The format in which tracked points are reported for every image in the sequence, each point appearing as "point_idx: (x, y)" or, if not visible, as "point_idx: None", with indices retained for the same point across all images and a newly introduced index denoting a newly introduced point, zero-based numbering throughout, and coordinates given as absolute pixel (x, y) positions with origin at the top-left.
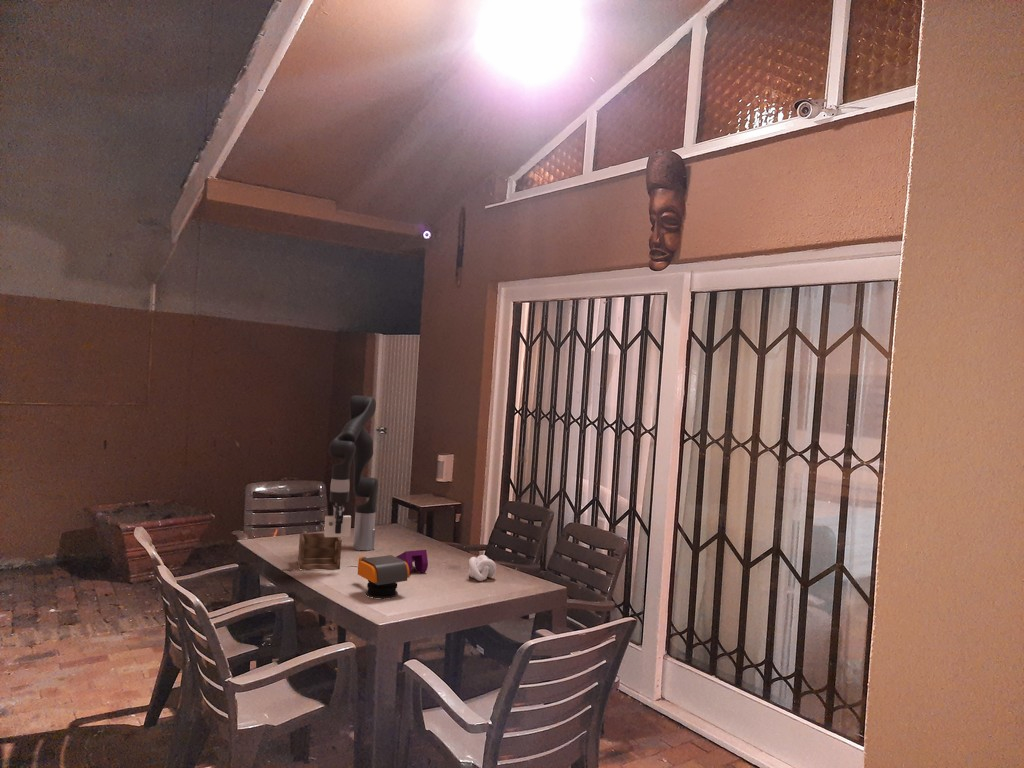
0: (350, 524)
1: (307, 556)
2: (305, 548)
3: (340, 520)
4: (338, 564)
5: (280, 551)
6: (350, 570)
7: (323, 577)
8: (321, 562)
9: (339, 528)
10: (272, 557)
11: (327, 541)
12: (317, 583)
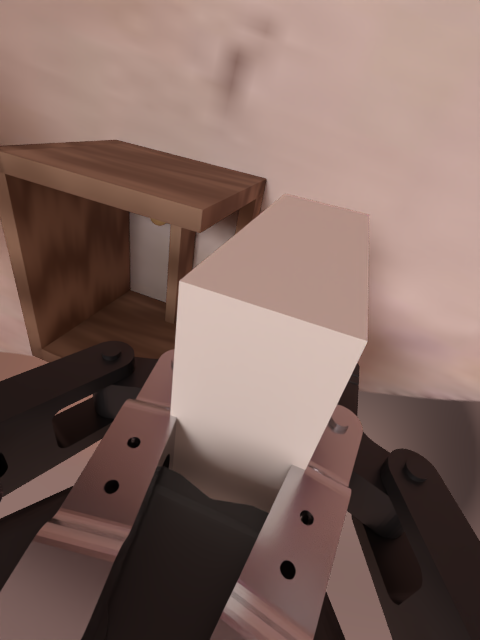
0: (367, 272)
1: (116, 278)
2: (93, 301)
3: None
4: (257, 191)
5: (9, 297)
6: (311, 127)
7: (372, 302)
8: (187, 247)
9: (355, 393)
10: None
11: (57, 215)
12: (451, 358)
